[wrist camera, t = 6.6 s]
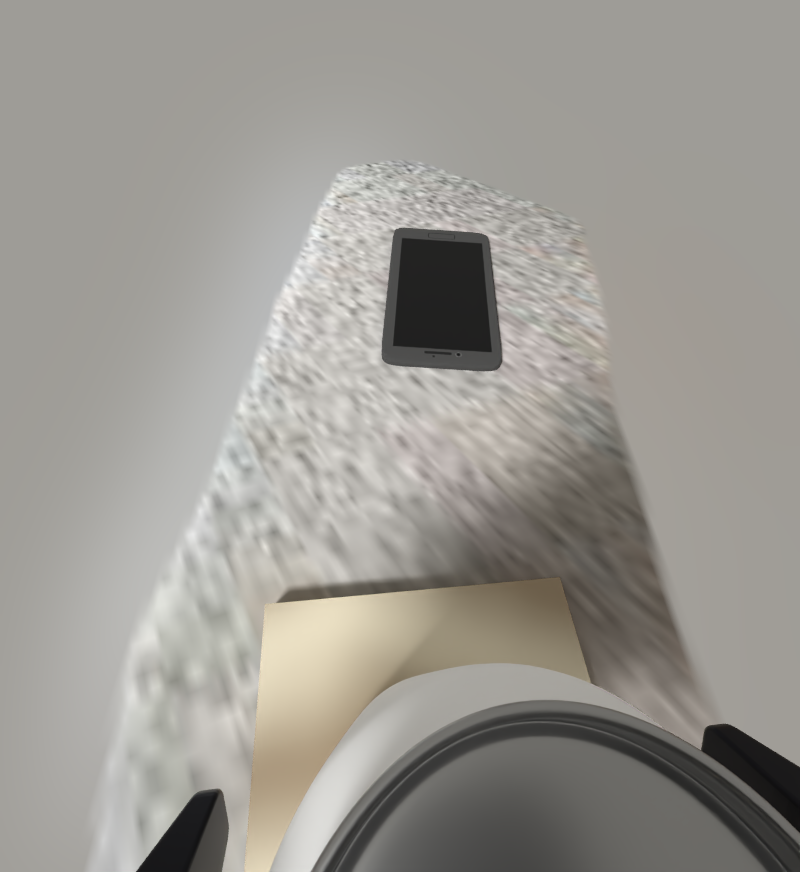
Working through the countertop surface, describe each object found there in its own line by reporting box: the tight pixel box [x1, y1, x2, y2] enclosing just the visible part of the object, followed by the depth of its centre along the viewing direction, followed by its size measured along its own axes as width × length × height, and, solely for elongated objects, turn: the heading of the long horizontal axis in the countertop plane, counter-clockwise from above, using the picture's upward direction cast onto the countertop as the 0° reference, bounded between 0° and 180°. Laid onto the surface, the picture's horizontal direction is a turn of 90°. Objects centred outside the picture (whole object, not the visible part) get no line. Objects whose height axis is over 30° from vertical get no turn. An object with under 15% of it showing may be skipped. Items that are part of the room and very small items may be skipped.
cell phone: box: [382, 228, 501, 371], centre depth 27 cm, size 7×14×1 cm, turn 177°
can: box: [269, 663, 800, 872], centre depth 8 cm, size 6×6×12 cm
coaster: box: [244, 577, 591, 872], centre depth 13 cm, size 12×12×1 cm
